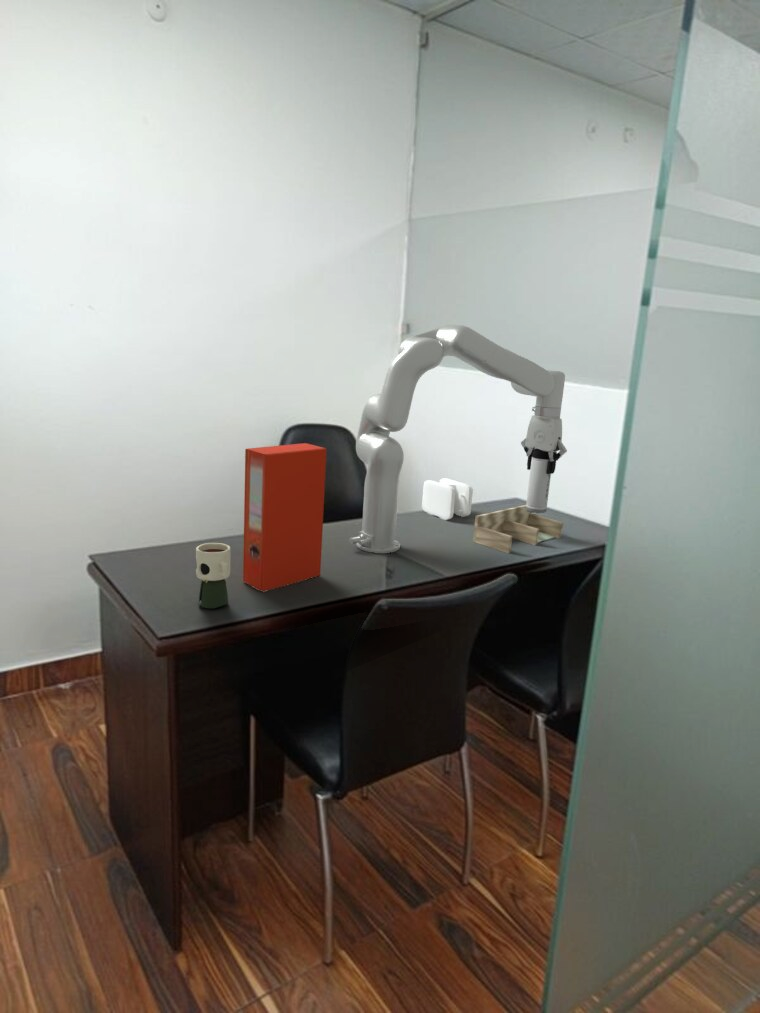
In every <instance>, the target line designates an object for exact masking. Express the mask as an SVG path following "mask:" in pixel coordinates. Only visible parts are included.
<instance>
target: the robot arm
mask: <svg viewBox="0 0 760 1013" xmlns="http://www.w3.org/2000/svg"><path fill="white" fill-rule="evenodd" d="M400 343H401V344H400V345H399V347H398V355H397V356H396V357H395V358H394V359H393V361H392V362H391V363H390V365H389V367H388V368H387V372H386V374H385V378H384V381H383V385H382V389H381V392H380V393H377V394H374V395H373V396H371V397H370V398H369V399H367V401H366V402H365V405H364V407H363V409H362V413H361V417H360V421H359V426H358V431H357V435H356V442H355V452H356V455H357V457H358V458H359V460H361V462H363V463H364V464H366V465H368V468H367V471H366V474H365V479H364V486H363V505H362V506H363V507H362V523H361V524H362V525H361V530H360V531H358V535H357V536H353V537H349V538H348V543H349V545H355V546H356V548H357V549H359V550H361V551H364V552H368V553H372V552H374V553H375V554H391V553H395V552H397V551H398V550H400V547H401V543H400V542H399V541H398V540H396V530H397V529H396V528H397V517H398V504H399V503H398V501H399V500H398V498H399V487H400V486H399V485H400V479H401V472H402V468H403V465H404V459H405V458H404V457H405V454H404V450H403V448H402V446H401V444H400V443H399V441H398V440H396V439H395V438H393V437H391V436H390V433H396V432H397V433H398V432H399V431H402V430H403V429H404V428H405V427H406V425H407V423H408V419H409V415H410V410H411V407H412V402H413V397H414V393H415V389H416V387H417V384H418V382H419V381H420V379H421V377H422V376H423V375H424V374H425V373H427V372H428V371H430V370H433V369H435V368H437V367H438V366H439V365H440V364H441V363H442V361H443V359H444V357H445V358H446V357H448V356H449V357H455V358H457V359H458V360H461V362H462V361H463V362H464V363H466V364H468V365H470V366H472V367H473V368H475V369H476V370H478V371H480V372H481V373H483V374H486V375H487V376H490V377H492V378H496V379H499V380H504V381H507V382H510V385H511V388H512V390H514V391H515V392H516V393H517V394H521V395H525V396H531V397H536V399H535V400H536V401H535V405H534V406H532V408H531V411H532V412H534V415H531V416H530V420H529V424H528V426H527V431H526V437H525V438H524V439H523V440H522V441H521V442H520V445H521V446H522V448H523V450H524V452H525V454H526V457H527V460H526V461H527V463H526V466H527V467H526V469H527V470H528V471H530V469H531V460H532V455H533V447H535V448H534V450H535V449H536V448H537V449H540V450H542V451H545V452H548V454H549V458H550V461H548V465H547V474H551V475H553V474H554V473H555V471H556V467H557V466H556V465H557V461H559V459H560V458H562V457H563V455H565V454H566V453H567V452H568V449H567V448H566V446H565V445H564V443H563V420H562V418H561V412H562V405H563V397H564V389H565V381H566V375H565V372H563V371H559V370H549V369H548V370H547V369H545V368H544V367H542V366H540V365H539V364H537V363H536V362H533V361H532V360H530V359H528V358H525V357H524V356H521V355H519V354H517V353H515V352H513V351H511V350H509V349H507V348H504V347H502V346H501V345H498V344H497V343H496V342H494V341H492V340H490V339H489V338H487V337H486V336H484V335H483V334H481V333H479V332H477V331H476V330H474V329H472V328H471V327H469V326H467V325H456V324H455V325H454V324H453V325H452V324H450V325H443V326H440V327H437V328H434V329H430V330H428V331H425V332H421V333H418V334H415V335H412V336H410V337H407V338H406V339H404V340H403V341H402V342H400ZM390 552H391V553H390Z"/></svg>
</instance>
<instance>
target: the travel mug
mask: <svg viewBox="0 0 760 1013" xmlns="http://www.w3.org/2000/svg"><path fill="white" fill-rule="evenodd" d="M534 448H535V447H533V455H532V460H531V469H530V470H529V479H528V487H527V496H526V504H525V505H526V510H527V511H529V512H531V513H532V514H534V513H535V514H545V513H547V510H548V508H547V507H548V500H549V492H550V484H551V477H552V474H547V465H548V461H550V458H549V454H548V452H545V451H542V450H540V449H537V448H536V449H535V450H534Z"/></svg>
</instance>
